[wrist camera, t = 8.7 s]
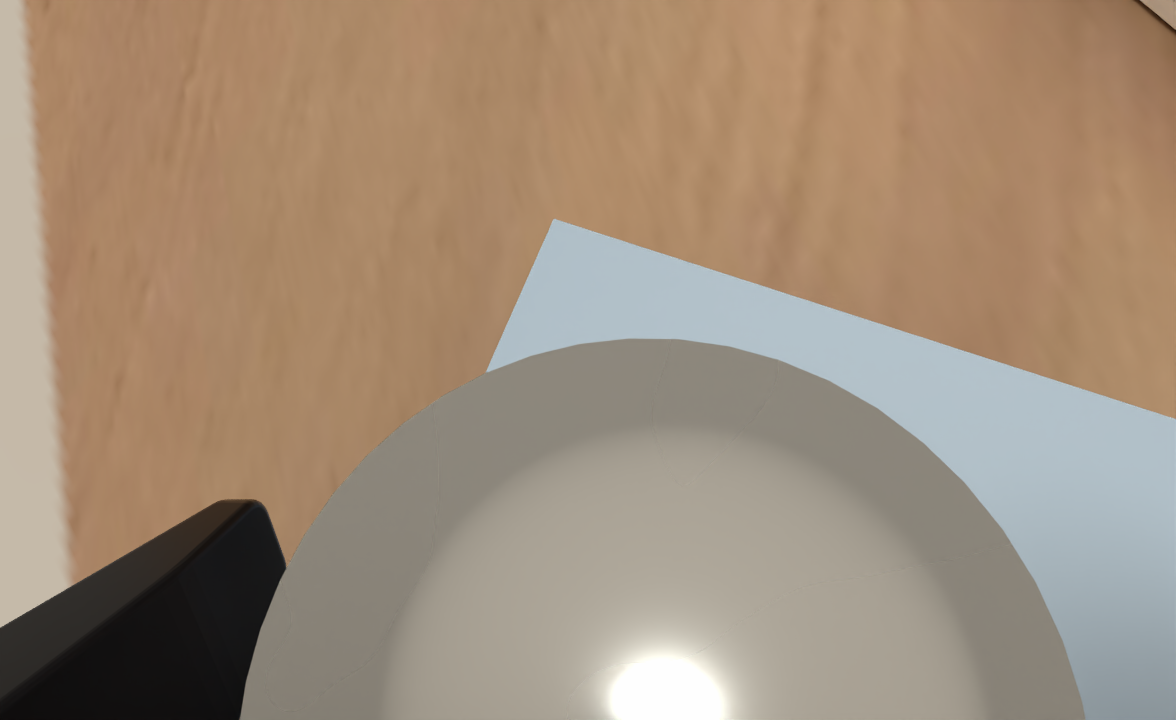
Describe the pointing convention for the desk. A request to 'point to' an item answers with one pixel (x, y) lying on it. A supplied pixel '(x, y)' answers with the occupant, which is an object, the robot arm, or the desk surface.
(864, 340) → the bracket block
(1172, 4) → the ink cartridge box
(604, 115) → the desk surface
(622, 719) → the silver tall cylinder
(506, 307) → the desk surface
